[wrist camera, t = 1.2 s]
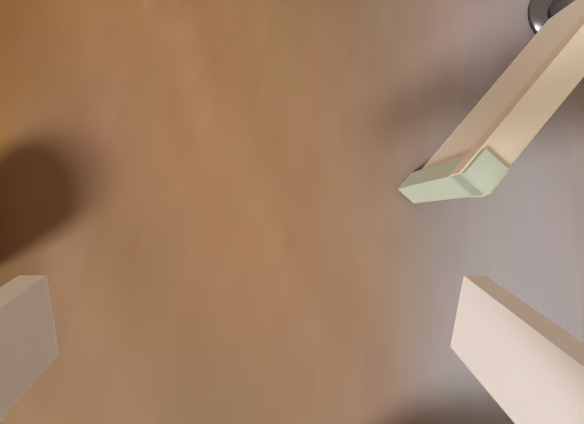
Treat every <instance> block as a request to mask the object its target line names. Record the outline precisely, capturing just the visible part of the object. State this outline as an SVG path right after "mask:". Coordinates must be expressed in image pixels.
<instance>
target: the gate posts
mask: <svg viewBox="0 0 584 424" xmlns="http://www.w3.org/2000/svg"><path fill="white" fill-rule="evenodd" d="M552 1H553V0H531V1H530V4H529V7H528V19H529V23H530V26H531V28H532V30H533V31H534V33H535V34H536V33H537V32H538V31H539V30H540V29H541V28H542V26H543V25H544V24H545V23H546V22H547V20H548V19H550V18H551V17H552V16H551V13H550V6H551V3H552Z"/></svg>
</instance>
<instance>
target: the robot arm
mask: <svg viewBox="0 0 584 424" xmlns="http://www.w3.org/2000/svg"><path fill="white" fill-rule="evenodd" d="M450 347H451V348H452V349H453V350H454V352H455V353H456V354H457V355H458V356H459V358H460V359H461V360H462V361H463V362H464V364H465V365H466V366H467V367H468V368H469V370H470V371H471V372H472V373H473V374H474V376H475V377H476V378H477V379H478V380H479V382H480V383H481V384H482V385H483V386H484V387H485V389H486V390H487V391H488V392H489V393H490V395H491V396H492V397H493V398H494V399H495V401H496V402H497V403H498V404H499V405H500V407H501V408H502V409H503V410H504V411H505V413H506V414H507V415H508V416H509V417H510V419H511V420H512V421H513V422H514V423H515V424H584V343H583V342H581V341H580V340H578V339H577V338H575V337H574V336H572V335H571V334H570V333H568V332H567V331H565V330H564V329H562V328H561V327H559V326H558V325H556V324H555V323H554V322H552V321H551V320H549V319H548V318H546V317H545V316H543V315H542V314H540V313H539V312H538V311H536V310H535V309H533V308H532V307H530V306H529V305H527V304H526V303H524V302H523V301H522V300H520V299H519V298H517V297H516V296H514V295H513V294H511V293H510V292H508V291H507V290H506V289H504V288H503V287H501V286H500V285H498V284H497V283H495V282H494V281H492V280H491V279H490V278H488V277H487V276H464V277H463V282H462V288H461V293H460V298H459V304H458V309H457V314H456V320H455V325H454V330H453V336H452V341H451V346H450ZM58 355H59V350H58V343H57V337H56V331H55V325H54V318H53V312H52V306H51V300H50V294H49V287H48V281H47V275H19V276H17V277H16V278H14V279H13V280H11V281H9V282H8V283H6V284H5V285H3V286H1V287H0V421H1V420H2V419H3V418H4V417H5V416H6V415H7V414H8V412H9V411H10V410H11V409H12V408H13V407H14V406H15V404H16V403H17V402H18V401H19V400H20V399H21V398H22V396H23V395H24V394H25V393H26V392H27V391H28V390H29V388H30V387H31V386H32V385H33V384H34V383H35V382H36V381H37V379H38V378H39V377H40V376H41V375H42V374H43V373H44V371H45V370H46V369H47V368H48V367H49V366H50V365H51V363H52V362H53V361H54V360H55V359H56V358H57V357H58Z"/></svg>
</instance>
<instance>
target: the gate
mask: <svg viewBox="0 0 584 424" xmlns="http://www.w3.org/2000/svg"><path fill="white" fill-rule="evenodd" d="M550 13H551V16H552V17H551V18H550V19H548V20H547V22H546V23H545V24H544V25H543V26H542V28H541V29H540V30H539V31H538V32H537V33H536V35H535V36H534V37H533V38H532V39H531V41H530V42H529V43H528V44H527V45H526V46H525V48H524V49H523V50H522V51H521V52H520V54H519V55H518V56H517V57H516V58H515V59H514V61H513V62H512V63H511V64H510V65H509V66H508V68H507V69H506V70H505V71H504V72H503V74H502V75H501V76H500V77H499V78H498V79H497V81H496V82H495V83H494V84H493V85H492V87H491V88H490V89H489V90H488V91H487V92H486V94H485V95H484V96H483V97H482V98H481V100H480V101H479V102H478V103H477V104H476V105H475V107H474V108H473V109H472V110H471V111H470V112H469V114H468V115H467V116H466V117H465V118H464V120H463V121H462V122H461V123H460V124H459V125H458V127H457V128H456V129H455V130H454V131H453V133H452V134H451V135H450V136H449V137H448V138H447V140H446V141H445V142H444V143H443V144H442V145H441V147H440V148H439V149H438V150H437V151H436V153H435V154H434V155H433V156H432V157H431V158H430V160H429V161H428V162H427V163H426V164H425V166H424V167H423V168H422V169H421V170H418V171H415V172H412V173H411V174H410V175H409V176H408V177H407V178H406V180H405V181H404V182H403V183H402V184H401V186H400V187H399V188H398V190H399V191H400V192H401V193H403V194H404V195H405V196H406V197H407V198H408V199H409V200H410V201H412V202H413V203H420V202H429V201H437V200H446V199H455V198H463V197H482V196H486V195H489V194H490V193H491V192H492V191H493V189H494V188H495V187H496V186H497V185H498V183H499V182H500V181H501V180H502V179H503V177H504V176H505V175H506V174H507V172H508V171H509V169H508V168H509V167H510V166H511V164H512V163H513V162H514V161H515V159H516V158H517V157H518V156H519V155H520V153H521V152H522V151H523V150H524V149H525V147H526V146H527V145H528V144H529V142H530V141H531V140H532V139H533V138H534V136H535V135H536V134H537V133H538V132H539V130H540V129H541V128H542V127H543V126H544V124H545V123H546V122H547V121H548V119H549V118H550V117H551V116H552V115H553V113H554V112H555V111H556V110H557V109H558V107H559V106H560V105H561V104H562V102H563V101H564V100H565V99H566V98H567V96H568V95H569V94H570V93H571V92H572V90H573V89H574V88H575V87H576V86H577V84H578V83H579V82H580V81H581V79H582V78H583V77H584V0H553V1H552V3H551V6H550Z"/></svg>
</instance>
